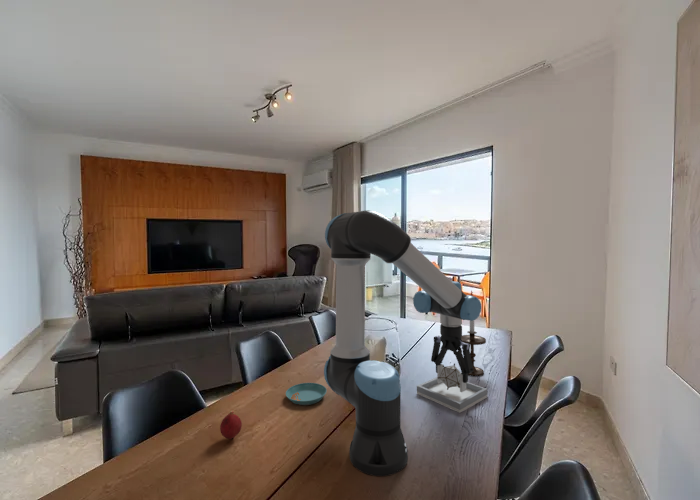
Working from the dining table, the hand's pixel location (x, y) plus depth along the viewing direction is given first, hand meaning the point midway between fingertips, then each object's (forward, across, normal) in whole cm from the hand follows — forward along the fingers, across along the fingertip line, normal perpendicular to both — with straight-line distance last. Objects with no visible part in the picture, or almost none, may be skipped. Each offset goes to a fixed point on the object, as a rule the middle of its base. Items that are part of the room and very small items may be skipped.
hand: (451, 386), depth 121 cm
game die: (+1, 0, 0) cm, 1 cm away
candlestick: (+4, +7, -25) cm, 26 cm away
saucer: (+4, +33, +41) cm, 53 cm away
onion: (+4, +25, +71) cm, 75 cm away
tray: (+3, 0, 0) cm, 3 cm away
